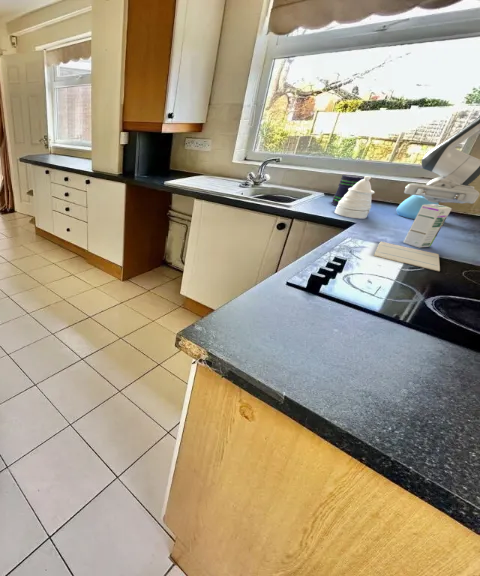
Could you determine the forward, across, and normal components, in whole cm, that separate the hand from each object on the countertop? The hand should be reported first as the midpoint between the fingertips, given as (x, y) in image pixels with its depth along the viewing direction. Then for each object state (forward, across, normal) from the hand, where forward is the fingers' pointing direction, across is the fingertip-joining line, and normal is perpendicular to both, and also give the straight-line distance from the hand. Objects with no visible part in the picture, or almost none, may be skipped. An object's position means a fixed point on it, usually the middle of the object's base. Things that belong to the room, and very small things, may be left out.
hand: (439, 195), depth 117 cm
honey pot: (-21, -25, +17) cm, 36 cm away
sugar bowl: (-45, -2, +17) cm, 48 cm away
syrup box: (+12, 0, +17) cm, 21 cm away
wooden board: (+30, -2, +16) cm, 34 cm away
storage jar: (-44, -32, +17) cm, 57 cm away
